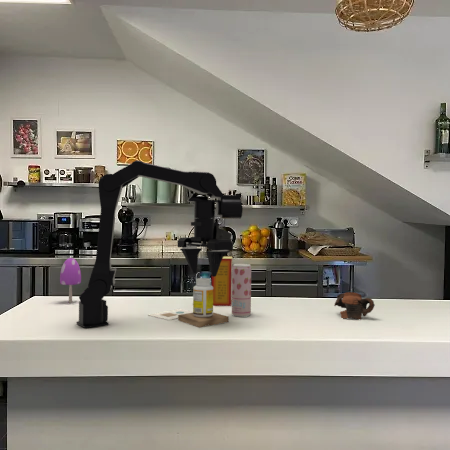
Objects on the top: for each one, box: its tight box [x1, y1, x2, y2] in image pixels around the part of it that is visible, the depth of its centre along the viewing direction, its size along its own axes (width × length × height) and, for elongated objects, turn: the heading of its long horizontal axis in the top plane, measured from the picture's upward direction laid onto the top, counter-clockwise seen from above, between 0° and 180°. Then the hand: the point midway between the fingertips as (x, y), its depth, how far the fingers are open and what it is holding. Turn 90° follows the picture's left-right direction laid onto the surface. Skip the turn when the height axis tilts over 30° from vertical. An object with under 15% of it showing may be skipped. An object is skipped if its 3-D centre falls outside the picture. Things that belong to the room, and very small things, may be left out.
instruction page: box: [147, 308, 193, 321], centre depth 126 cm, size 12×9×1 cm
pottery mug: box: [333, 292, 375, 320], centre depth 127 cm, size 12×10×8 cm
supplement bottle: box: [192, 277, 214, 317], centre depth 118 cm, size 6×6×10 cm
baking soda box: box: [210, 255, 233, 307], centre depth 146 cm, size 10×6×16 cm
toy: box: [59, 257, 82, 304], centre depth 143 cm, size 7×7×15 cm
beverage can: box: [231, 263, 252, 318], centre depth 127 cm, size 6×6×15 cm
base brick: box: [177, 311, 230, 328], centre depth 118 cm, size 10×10×2 cm
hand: (204, 274), depth 118 cm, fingers open, 9 cm apart
